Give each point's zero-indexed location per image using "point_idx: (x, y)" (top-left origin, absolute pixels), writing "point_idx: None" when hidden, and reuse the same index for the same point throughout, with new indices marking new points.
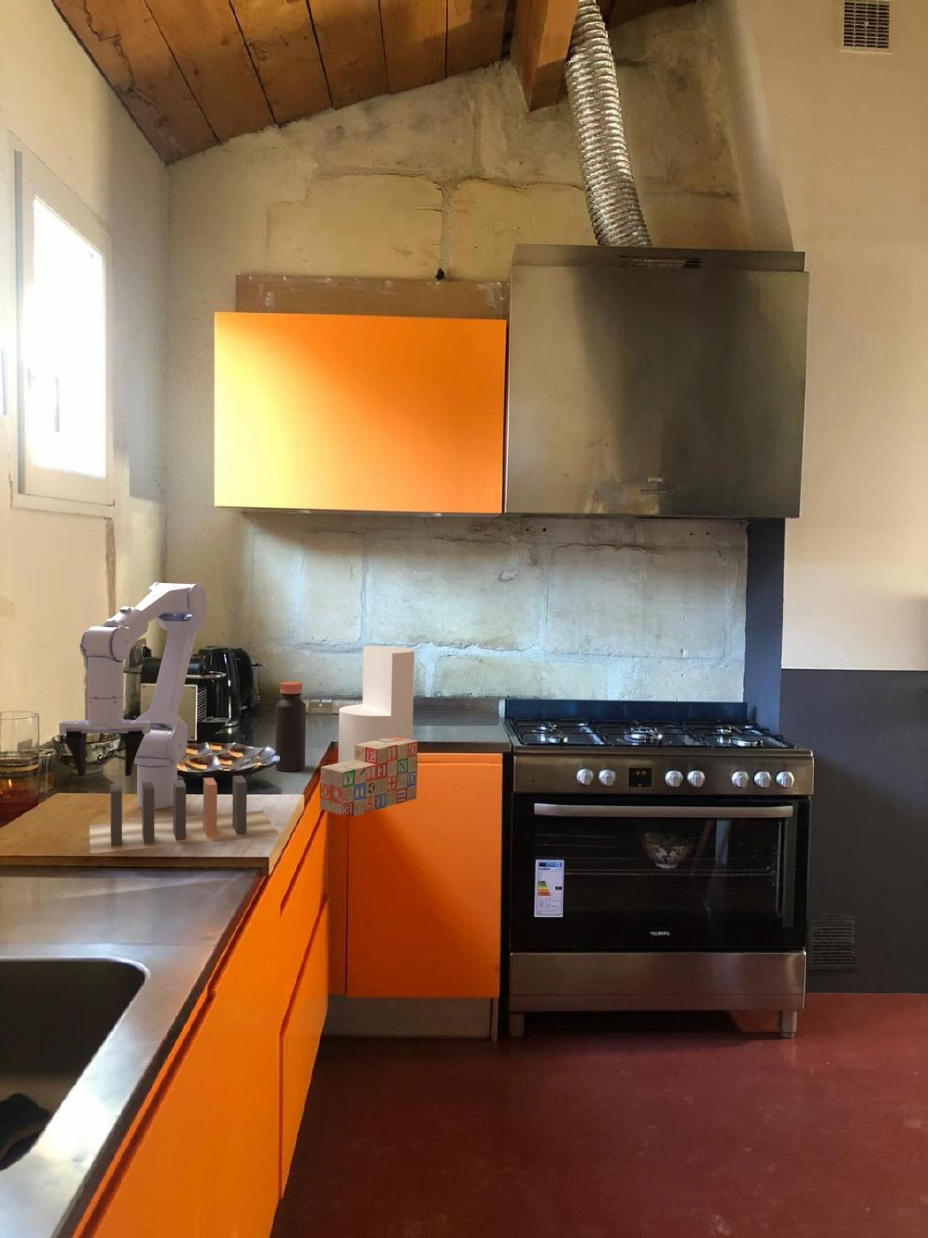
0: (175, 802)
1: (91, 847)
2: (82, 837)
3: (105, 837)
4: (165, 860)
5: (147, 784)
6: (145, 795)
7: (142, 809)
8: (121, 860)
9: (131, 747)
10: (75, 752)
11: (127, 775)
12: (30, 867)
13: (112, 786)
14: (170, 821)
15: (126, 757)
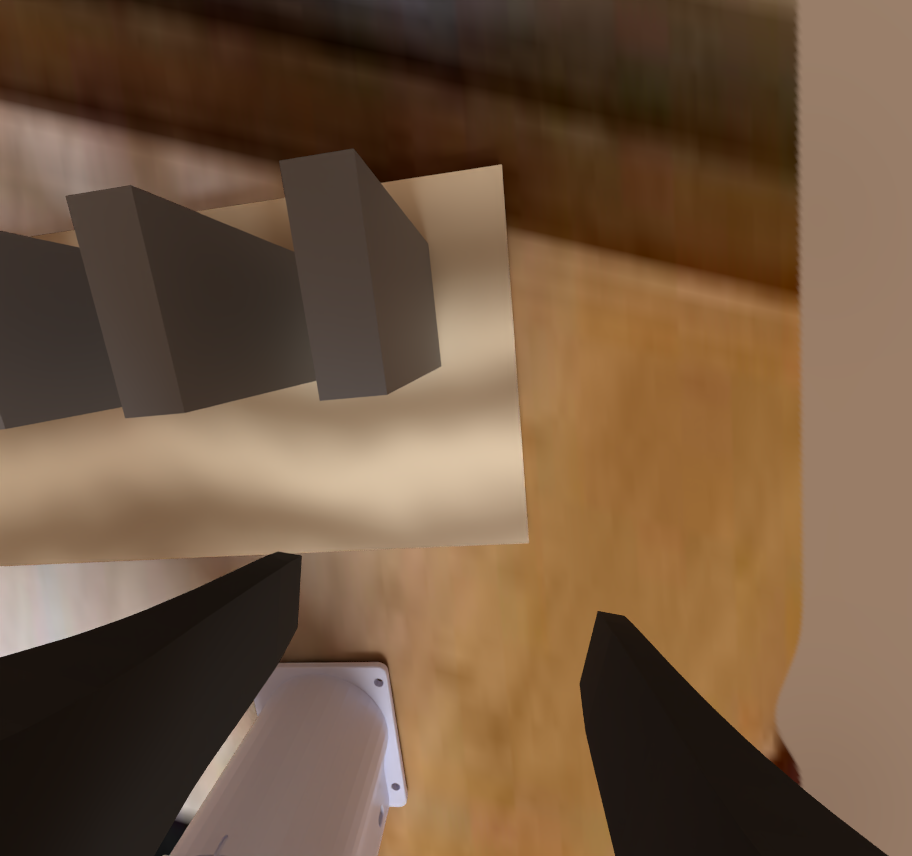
0: (67, 274)
1: (501, 247)
2: (546, 465)
3: (459, 372)
4: (233, 109)
5: (140, 346)
6: (158, 201)
7: (276, 370)
8: (387, 143)
9: (1, 681)
10: (769, 793)
11: (286, 553)
12: (720, 121)
13: (366, 334)
14: (253, 516)
15: (189, 623)
